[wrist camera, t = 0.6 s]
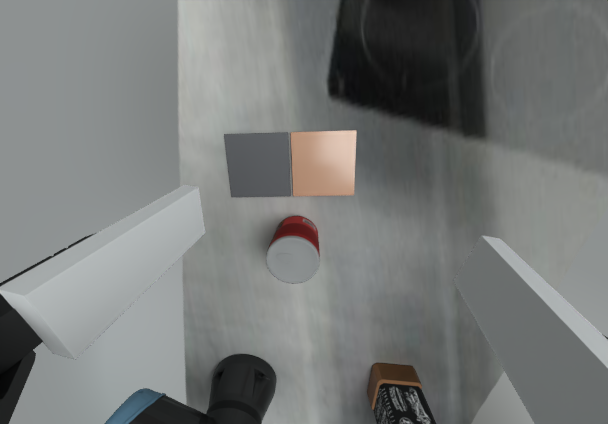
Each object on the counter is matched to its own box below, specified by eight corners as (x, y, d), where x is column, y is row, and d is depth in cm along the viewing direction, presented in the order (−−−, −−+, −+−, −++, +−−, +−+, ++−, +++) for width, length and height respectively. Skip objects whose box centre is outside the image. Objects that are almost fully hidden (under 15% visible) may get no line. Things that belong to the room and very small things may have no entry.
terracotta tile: (353, 194, 39) (353, 195, 39) (293, 195, 40) (293, 196, 40) (356, 130, 36) (356, 130, 36) (291, 132, 37) (290, 132, 36)
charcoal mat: (290, 195, 40) (290, 196, 40) (232, 196, 40) (231, 197, 40) (288, 132, 37) (287, 132, 36) (224, 134, 37) (223, 134, 37)
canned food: (275, 215, 41) (262, 238, 31) (317, 213, 41) (319, 236, 30) (278, 251, 43) (268, 285, 33) (318, 250, 43) (320, 283, 32)
